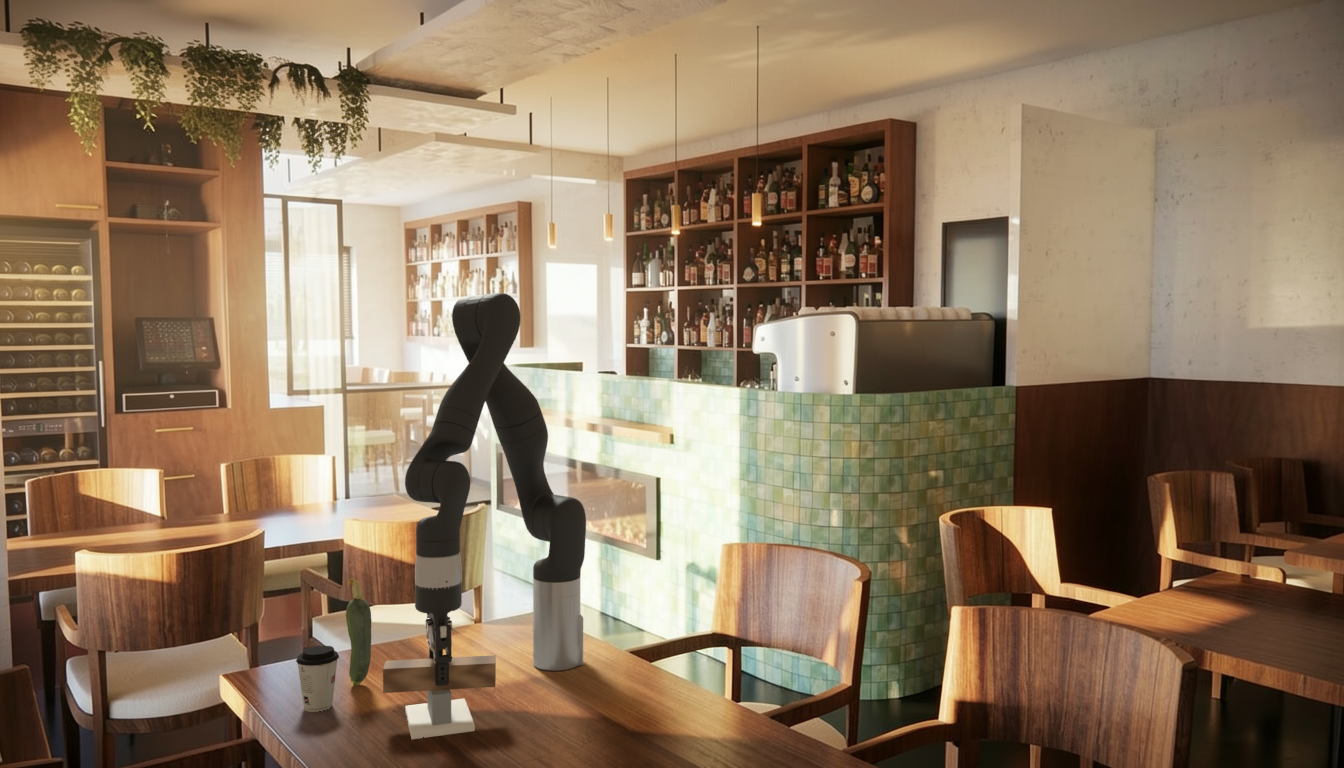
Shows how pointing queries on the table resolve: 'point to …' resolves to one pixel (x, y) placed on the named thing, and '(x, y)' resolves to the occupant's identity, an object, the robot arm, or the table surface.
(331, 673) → the coffee cup
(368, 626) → the vegetable
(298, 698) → the table surface
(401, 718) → the table surface
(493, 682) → the beam
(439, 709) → the fulcrum
